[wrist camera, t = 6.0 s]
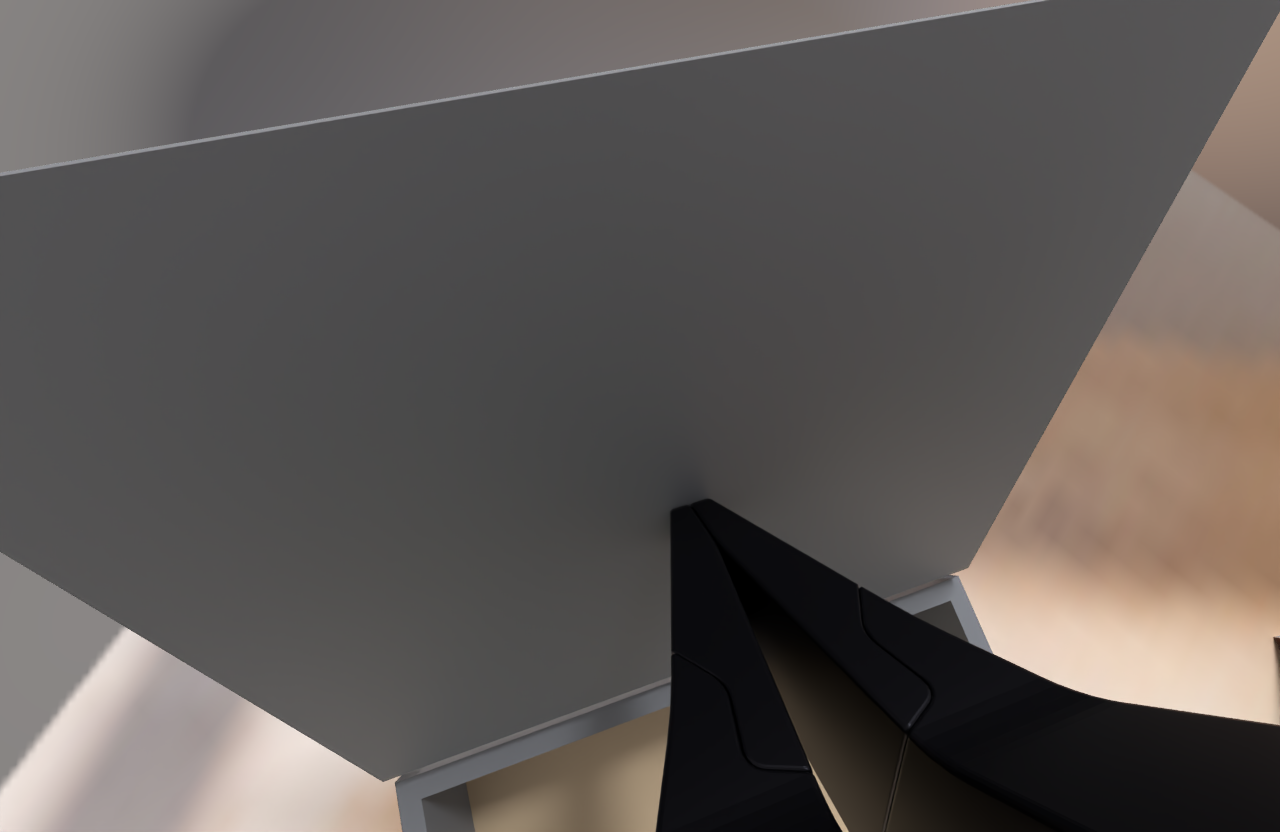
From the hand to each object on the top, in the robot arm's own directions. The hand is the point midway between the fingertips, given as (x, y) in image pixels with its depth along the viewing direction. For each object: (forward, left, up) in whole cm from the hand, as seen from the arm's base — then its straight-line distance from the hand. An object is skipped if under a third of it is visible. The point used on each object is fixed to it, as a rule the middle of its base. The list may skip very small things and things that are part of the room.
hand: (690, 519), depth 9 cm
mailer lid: (0, 0, 0) cm, 0 cm away
